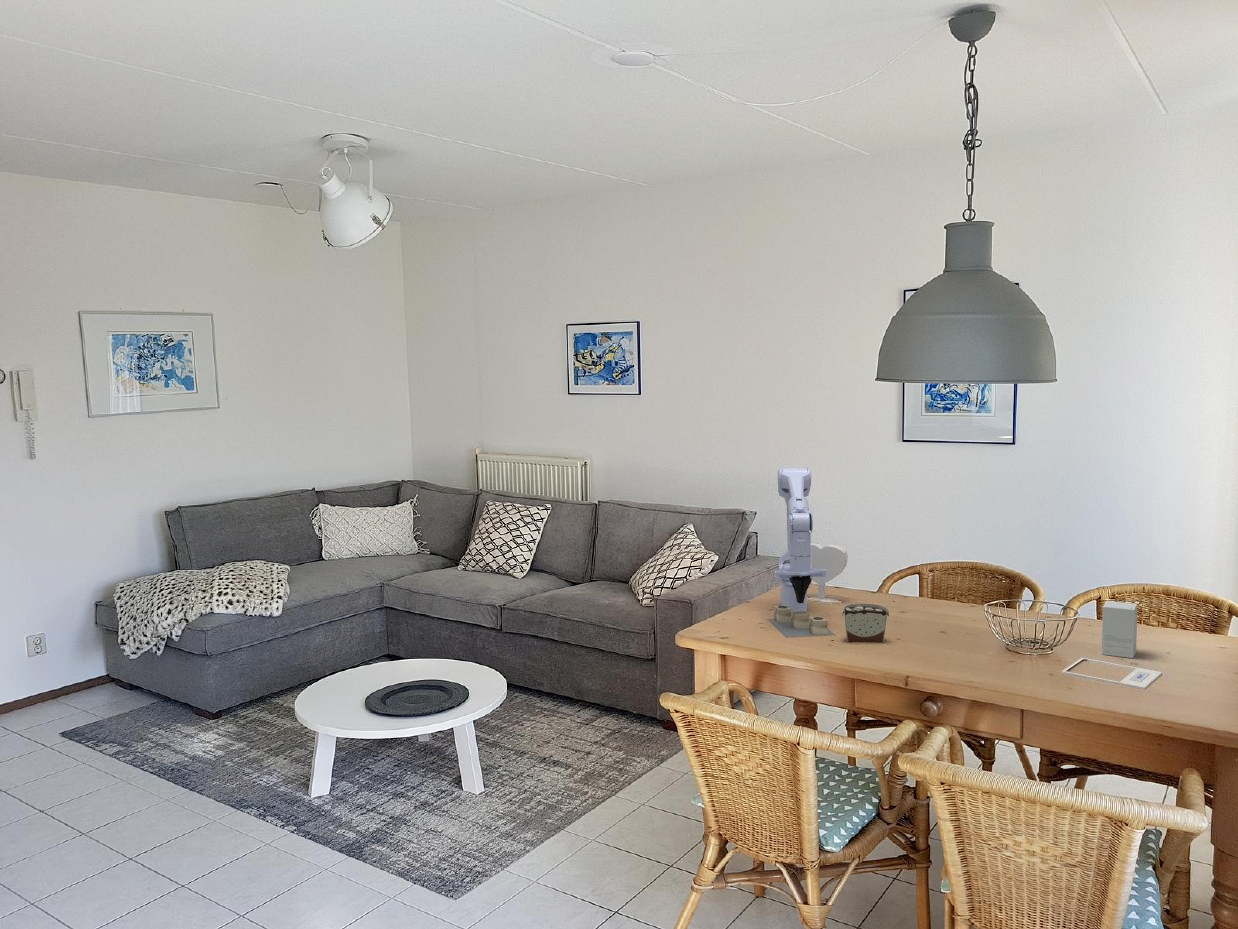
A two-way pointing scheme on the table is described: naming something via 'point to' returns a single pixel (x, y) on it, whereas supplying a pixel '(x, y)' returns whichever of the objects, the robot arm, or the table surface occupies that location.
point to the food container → (865, 622)
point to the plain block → (799, 619)
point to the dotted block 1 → (782, 614)
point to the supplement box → (1119, 629)
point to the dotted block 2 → (818, 625)
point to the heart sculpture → (827, 566)
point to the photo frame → (1134, 679)
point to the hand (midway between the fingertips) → (800, 602)
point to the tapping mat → (794, 630)
